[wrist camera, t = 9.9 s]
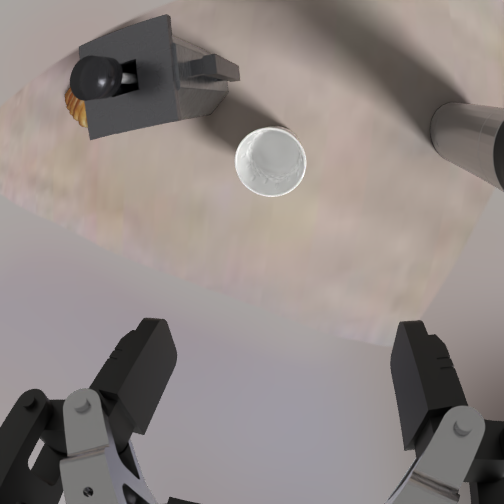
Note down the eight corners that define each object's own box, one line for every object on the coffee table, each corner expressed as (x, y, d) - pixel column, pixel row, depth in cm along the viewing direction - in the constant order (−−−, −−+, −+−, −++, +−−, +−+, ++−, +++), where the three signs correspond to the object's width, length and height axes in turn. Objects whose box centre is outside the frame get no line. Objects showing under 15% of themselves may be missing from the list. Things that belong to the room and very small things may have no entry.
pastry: (65, 107, 43) (51, 109, 40) (81, 73, 40) (67, 73, 37) (99, 131, 44) (85, 135, 41) (117, 97, 41) (103, 98, 38)
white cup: (254, 179, 44) (241, 200, 36) (245, 126, 41) (228, 133, 32) (308, 173, 43) (310, 193, 34) (301, 118, 39) (301, 123, 31)
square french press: (241, 42, 35) (198, 5, 19) (248, 110, 40) (210, 116, 23) (157, 59, 38) (77, 47, 21) (165, 121, 42) (88, 141, 26)
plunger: (196, 43, 29) (127, 14, 15) (203, 107, 32) (137, 115, 19) (134, 58, 30) (48, 50, 17) (142, 118, 34) (58, 138, 20)
